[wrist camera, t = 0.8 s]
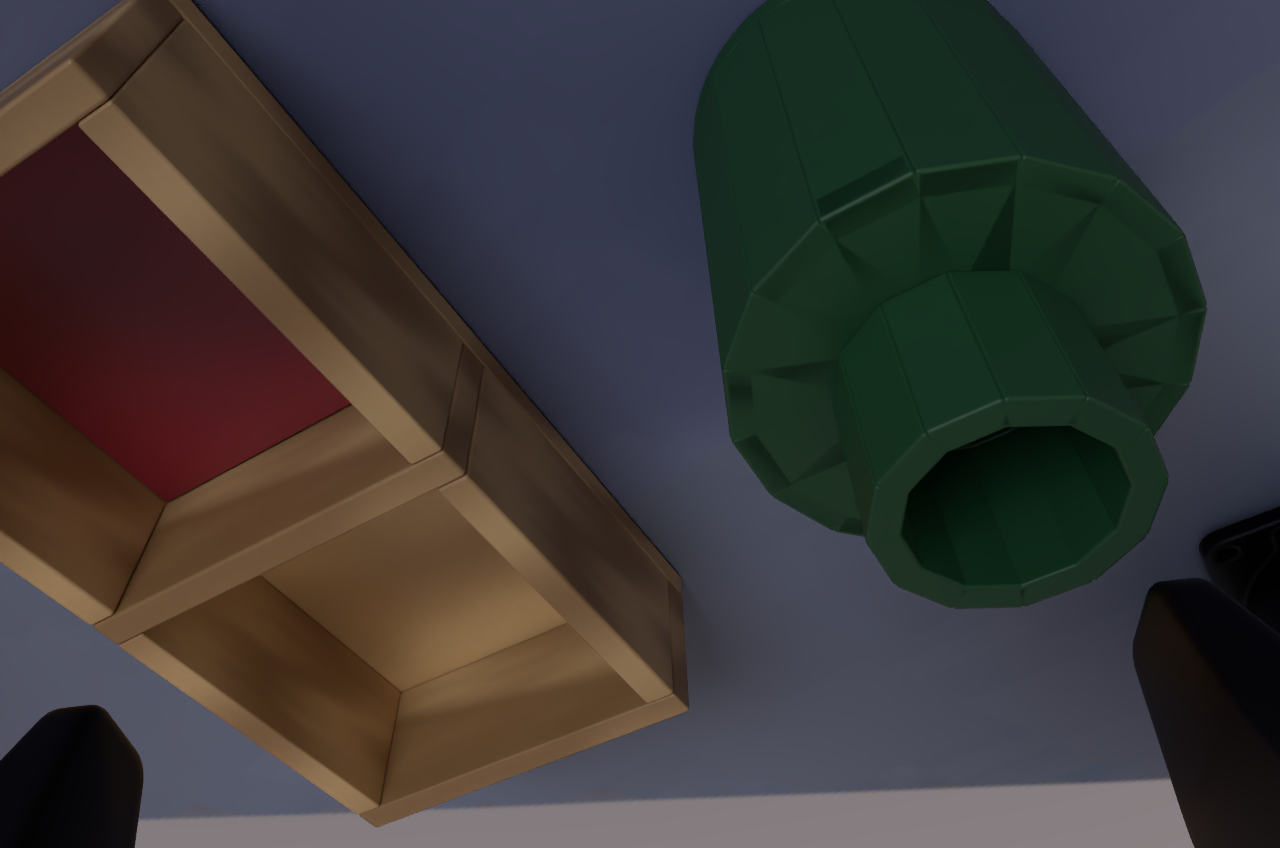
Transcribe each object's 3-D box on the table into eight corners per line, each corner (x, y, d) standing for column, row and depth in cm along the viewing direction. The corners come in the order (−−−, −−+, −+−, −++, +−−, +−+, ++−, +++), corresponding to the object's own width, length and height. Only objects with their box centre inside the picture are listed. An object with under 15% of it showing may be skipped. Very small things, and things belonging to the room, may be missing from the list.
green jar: (1068, 182, 20) (1346, 572, 13) (782, 321, 22) (872, 735, 15) (955, -115, 17) (1236, 164, 9) (631, 78, 19) (641, 445, 11)
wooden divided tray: (682, 577, 27) (690, 711, 24) (401, 695, 30) (376, 829, 27) (165, -32, 18) (69, 57, 15) (-174, 222, 21) (-314, 343, 17)
